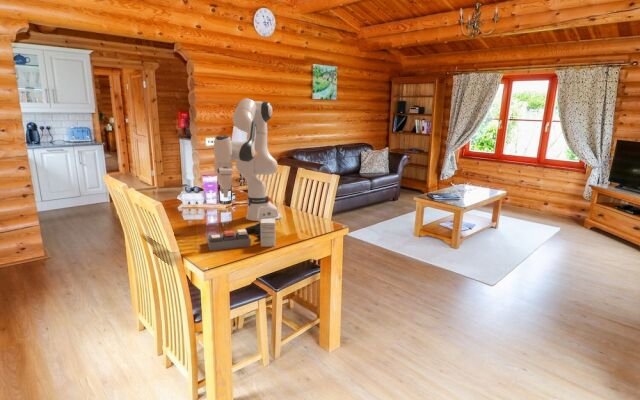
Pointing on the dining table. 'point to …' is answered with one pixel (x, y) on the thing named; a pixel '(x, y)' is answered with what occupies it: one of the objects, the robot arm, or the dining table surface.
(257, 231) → the gaming controller
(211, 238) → the button
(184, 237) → the dining table surface
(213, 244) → the button box
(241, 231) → the button
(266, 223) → the supplement box
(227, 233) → the red button
